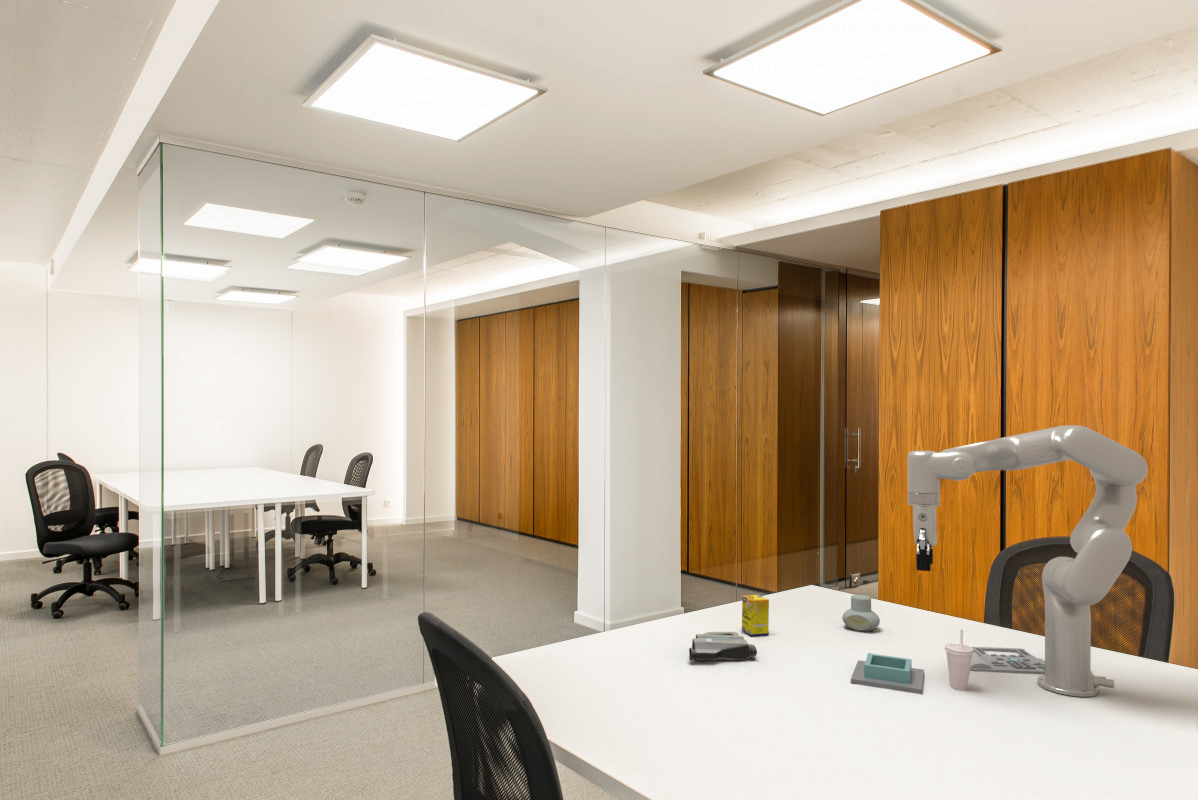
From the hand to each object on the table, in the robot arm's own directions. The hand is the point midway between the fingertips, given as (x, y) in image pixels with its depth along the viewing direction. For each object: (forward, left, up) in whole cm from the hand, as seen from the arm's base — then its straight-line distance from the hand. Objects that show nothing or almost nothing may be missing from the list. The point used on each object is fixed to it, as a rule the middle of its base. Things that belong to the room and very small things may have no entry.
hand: (924, 567), depth 192 cm
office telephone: (-18, -23, -28) cm, 41 cm away
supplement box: (+47, -17, -28) cm, 57 cm away
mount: (+8, +6, -28) cm, 29 cm away
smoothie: (-8, +5, -28) cm, 29 cm away
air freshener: (+19, -38, -28) cm, 51 cm away
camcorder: (+51, +7, -28) cm, 59 cm away
